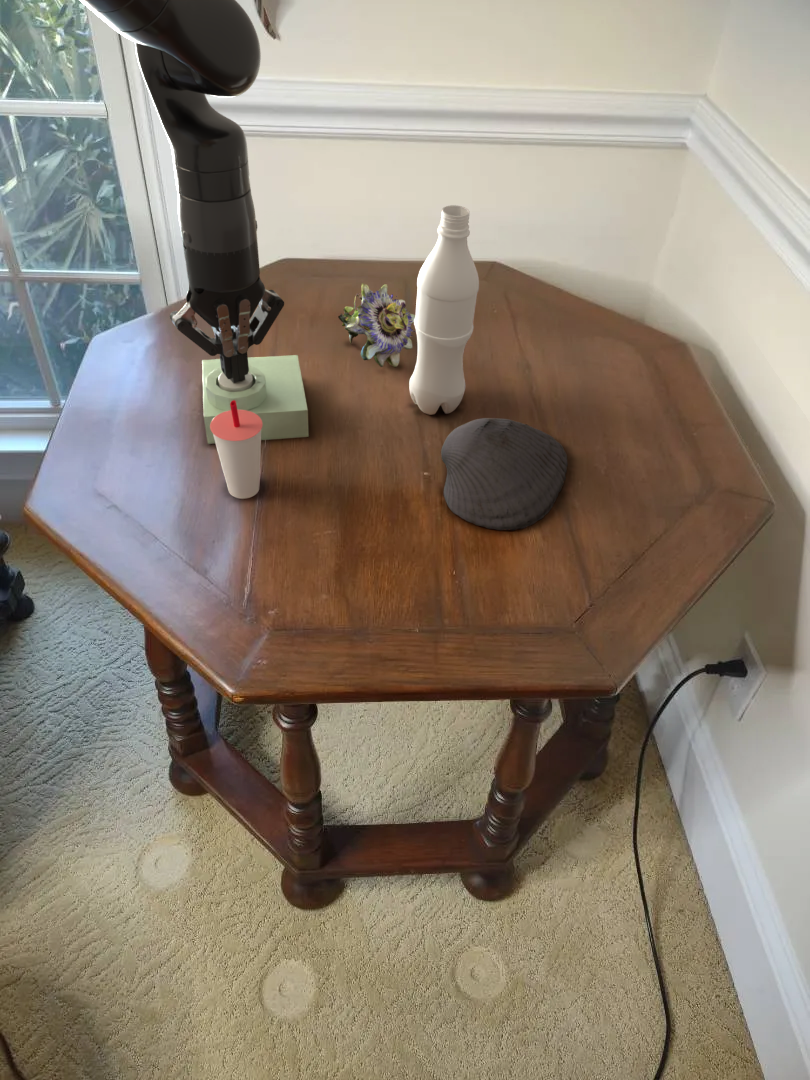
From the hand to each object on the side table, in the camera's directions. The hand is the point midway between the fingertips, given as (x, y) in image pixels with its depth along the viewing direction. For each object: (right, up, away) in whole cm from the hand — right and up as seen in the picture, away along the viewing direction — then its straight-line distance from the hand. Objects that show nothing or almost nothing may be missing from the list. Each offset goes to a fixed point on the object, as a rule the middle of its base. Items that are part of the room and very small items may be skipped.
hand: (235, 378), depth 90 cm
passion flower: (+15, +7, +18) cm, 24 cm away
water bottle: (+24, -2, +10) cm, 26 cm away
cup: (+2, -13, -4) cm, 14 cm away
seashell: (+32, -12, 0) cm, 34 cm away
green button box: (+1, -3, +6) cm, 7 cm away
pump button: (0, -1, +1) cm, 2 cm away
